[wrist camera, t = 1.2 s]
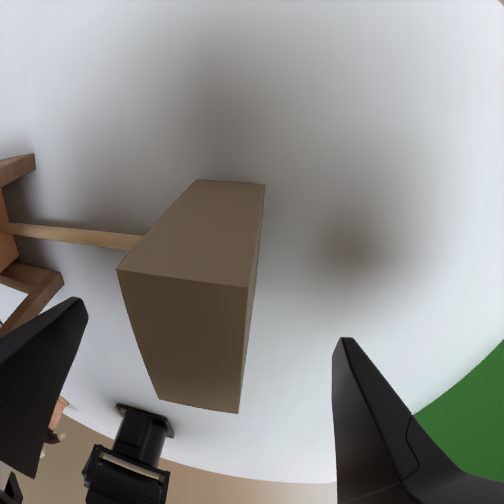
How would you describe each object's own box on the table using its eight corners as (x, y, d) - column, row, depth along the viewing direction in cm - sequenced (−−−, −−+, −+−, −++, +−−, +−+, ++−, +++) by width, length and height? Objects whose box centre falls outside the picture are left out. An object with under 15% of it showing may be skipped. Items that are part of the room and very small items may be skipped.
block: (254, 294, 15) (238, 413, 9) (-12, 247, 16) (-58, 291, 10) (265, 184, 11) (248, 287, 5) (-28, 186, 12) (-83, 225, 6)
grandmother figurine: (49, 395, 32) (23, 448, 21) (39, 384, 30) (11, 440, 19) (81, 411, 32) (57, 471, 21) (72, 401, 30) (44, 464, 19)
